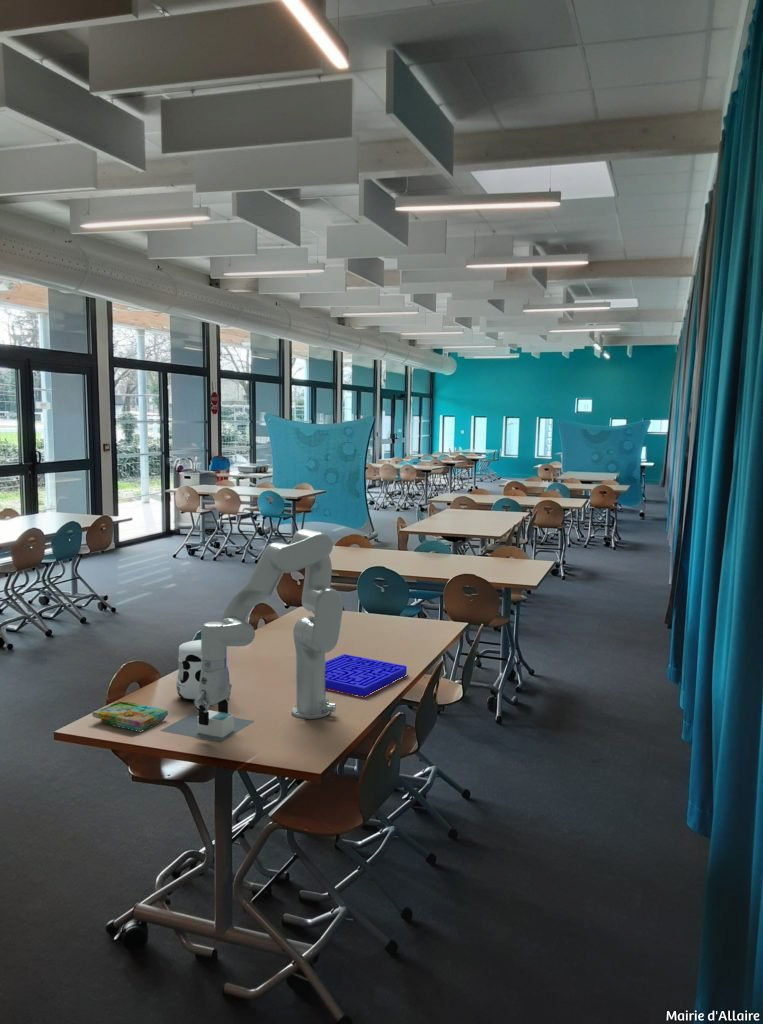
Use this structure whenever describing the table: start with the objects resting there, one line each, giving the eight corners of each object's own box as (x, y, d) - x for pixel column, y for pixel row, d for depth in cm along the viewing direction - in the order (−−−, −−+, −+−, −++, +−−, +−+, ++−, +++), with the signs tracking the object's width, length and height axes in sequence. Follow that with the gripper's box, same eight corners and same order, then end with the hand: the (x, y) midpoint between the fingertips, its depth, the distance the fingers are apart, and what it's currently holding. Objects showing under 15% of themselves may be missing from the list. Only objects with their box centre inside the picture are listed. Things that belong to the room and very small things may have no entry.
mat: (254, 722, 235) (254, 721, 235) (220, 744, 219) (220, 742, 219) (196, 712, 244) (196, 711, 244) (160, 732, 227) (160, 730, 227)
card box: (234, 730, 227) (233, 713, 227) (222, 737, 222) (222, 720, 221) (209, 725, 231) (209, 709, 230) (197, 732, 225) (197, 716, 225)
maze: (364, 699, 258) (364, 688, 258) (296, 684, 274) (296, 673, 274) (408, 676, 283) (408, 666, 283) (344, 663, 300) (344, 654, 299)
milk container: (237, 691, 265) (236, 641, 263) (210, 707, 249) (209, 654, 247) (195, 685, 271) (194, 637, 269) (166, 701, 254) (164, 649, 253)
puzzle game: (140, 720, 225) (92, 709, 234) (140, 735, 226) (92, 724, 235) (167, 707, 236) (120, 698, 245) (167, 722, 236) (120, 711, 245)
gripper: (206, 672, 215) (206, 730, 216) (240, 658, 231) (240, 712, 232) (185, 669, 218) (185, 726, 219) (220, 655, 234) (219, 708, 235)
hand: (213, 719), depth 226 cm, fingers open, 9 cm apart
